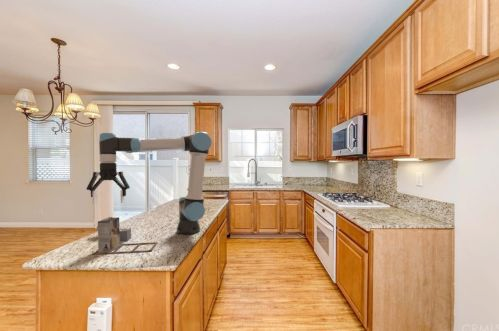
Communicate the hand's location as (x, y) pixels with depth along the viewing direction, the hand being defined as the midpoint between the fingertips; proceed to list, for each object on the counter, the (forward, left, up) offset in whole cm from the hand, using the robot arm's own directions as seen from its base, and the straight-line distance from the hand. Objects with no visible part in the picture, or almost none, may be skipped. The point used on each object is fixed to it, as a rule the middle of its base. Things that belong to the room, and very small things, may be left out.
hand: (108, 202), depth 122 cm
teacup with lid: (+13, -27, -25) cm, 39 cm away
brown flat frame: (-9, 0, -25) cm, 26 cm away
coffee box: (0, 0, -25) cm, 25 cm away
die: (-1, -15, -25) cm, 29 cm away
